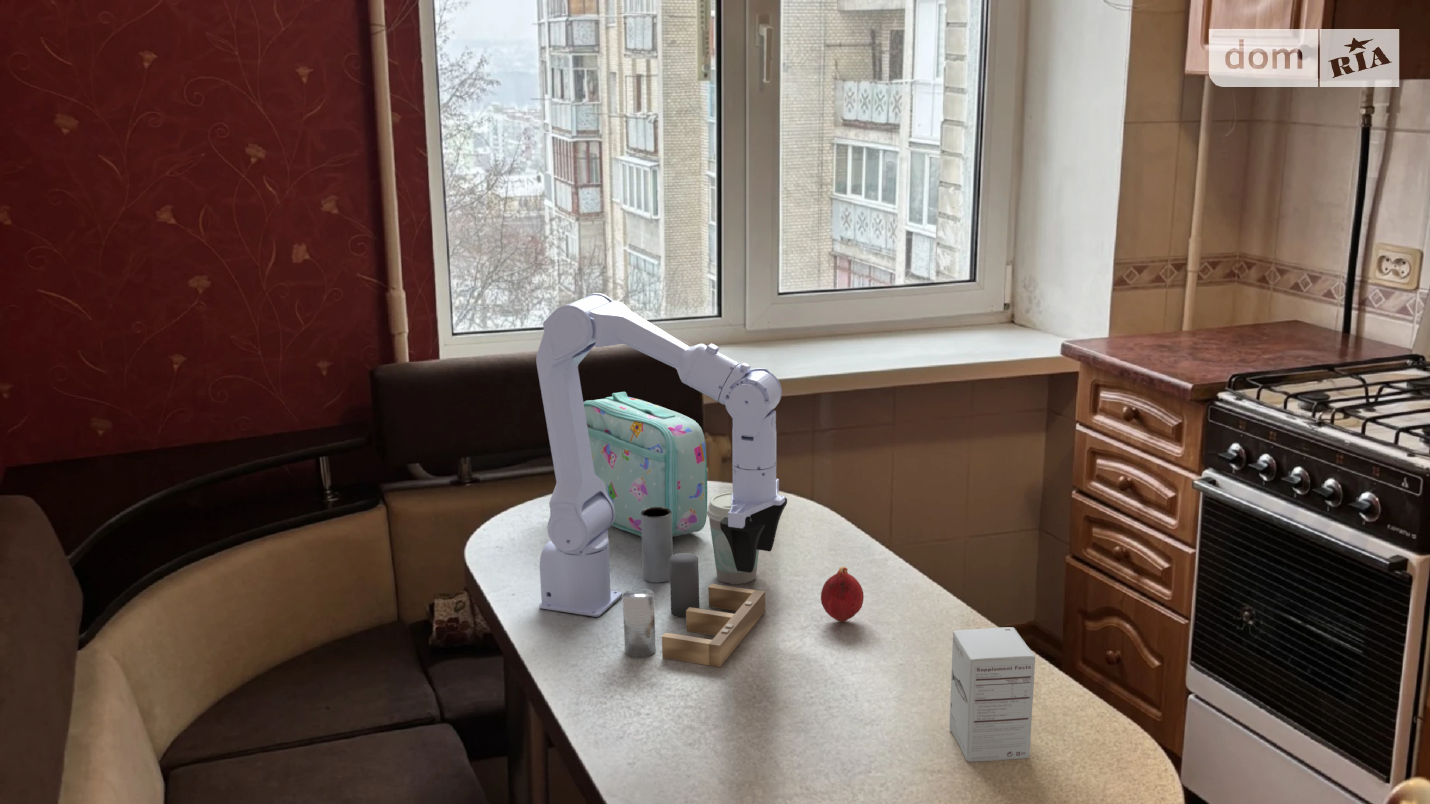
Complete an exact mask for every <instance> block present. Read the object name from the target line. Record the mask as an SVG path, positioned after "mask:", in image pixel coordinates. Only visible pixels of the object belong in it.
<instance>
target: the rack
mask: <svg viewBox="0 0 1430 804" xmlns="http://www.w3.org/2000/svg"><path fill="white" fill-rule="evenodd" d="M707 591H708V594H707V595H708V607H709V608H713V607H715V608H714V609H721V610H729V611H734V612H735V613H731V612H730V613H729V612H724V611H719V610H712V609H704V608H700V609H698V608H692V607H689V608H688V609H687V610H686V618H685V619H686V620H685V621H686V626H685V627H686V632H689V633H690V632H691V633H698V634H703V635H708V636H709V635H710V636H714V637H713V638H712V639H708V638H703V637H695V636H690V635H685V634H678V633H670V632H665V633H663V634H662V635H661V652H662V653H661V654H662V659H668V660H675V661H681V662H686V663H693V664H699V665H704V666H709V667H710V666H711V667H718V668H721V667H722V666H723V664H724V663H725V662H726V660H727V659H728V658H729V657H730V656H731V654H732V653H733V652H734V650H735V649H736V648H737V647H738V646H739V645H740V643H741V642H742V641H743V640H744V638H745V637H746V636H747V634H748V633H749V632H750V631H751V629H752V628H753V627H754V626H755V624H756V623H757V622H758V621H759V620H760V618H761V617H762V616H763V615H764V614H765V612H766V591H765V590H757V589H751V588H750V589H749V588H744V587H743V588H742V587H738V586H737V587H736V586H728V585H721V584H715V583H711V584H709V586H708V589H707ZM762 614H763V615H762Z"/></svg>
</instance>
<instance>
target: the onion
mask: <svg viewBox="0 0 1430 804" xmlns="http://www.w3.org/2000/svg"><path fill="white" fill-rule="evenodd" d="M848 569H849V568H847V567H846V566H844V565H842V566H840V567H839V569H838V571H837V573H835V574H833V575H832V576H830V577H829V578H827V579H826V581H825V582H824V584H823V586H822V589H821V593H820V602H821V605H822V607H823V609H824V611H825V613H827V614H828V616H830V617H831V618H832V619H834V620H836V621H838V622H839V623H845V622H847V621H849V620H850V619H852V618H853V617H854V616H855V615H857V614H858V613H859V612H860V611H861V609H862V608H863V604H864V596H865V595H864V591H863V590H864V589H863V587H862V585H861V583H860V582H859V581H858V580H857V578H856V577H854V575H852V574H850V573H849V572H848V571H849V570H848Z"/></svg>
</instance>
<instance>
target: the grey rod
mask: <svg viewBox="0 0 1430 804" xmlns="http://www.w3.org/2000/svg"><path fill="white" fill-rule="evenodd" d="M622 607H623V609H622V610H623V612H622V613H623V630H624V632H623V635H624V636H623V637H624V638H623V639H624V653H625V655H626V656H627V657H630V658H633V659H645V658H648V657H651V656H653V655H654V654H655V653H656V623H655V622H656V621H655V619H656V618H655V593H654V592H653V591H652V590H651V589H649V588H648V589H647V588H632V589H631V588H630V589H628V590H626V591H624V592H622Z"/></svg>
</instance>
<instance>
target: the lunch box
mask: <svg viewBox="0 0 1430 804" xmlns="http://www.w3.org/2000/svg"><path fill="white" fill-rule="evenodd" d="M583 403H584V409H585V416H586V422H587V428H588V434H589V441H590V447H591V453H592V459H593V465H594V472H595V475H596V476H597V477H598V478H600V479H601V480H602V481H603V482H604V483H605V489H606V492H607V495H608V497H609V498H610V500H611V501H612V503H613V505H614V508H615V519H614V522H613V524H612V525H611V526H610V527H614V528H617V529H619V530H620V531H621V530H622V531H624V532H628V533H630V534H633V535H636V536H638V537H641V538H642V535H641V512H642V511H643V510H644V509H647V508H651V507H664V508H668V509H670V510H671V512H672V538H674V537H678V536H683V535H688V534H692V533H696V532H700V531H701V530H703V529H704V527H705V525H706V523H707V517H708V516H707V508H708V467H707V449H706V448H707V447H706V446H707V445H706V439H705V438H706V437H705V435H704V432H703V429H702V427H701V426H700V425H699V423H698V422H696V420H694V419H693V418H690V417H689V416H687V415H684V414H682V413H680V412H677V411H675V410H671V409H668V408H666V407H663V406H661V405H658V404H655V403H654V404H653V403H652V402H648V401H646V400H643V399H639V398H635V397H631V396H628V394H627V392H626V391H620V392H613V393H611V396H607V397H605V398H600V399H593V400H592V399H591V400H589V399H588V400H585V401H583Z"/></svg>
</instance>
